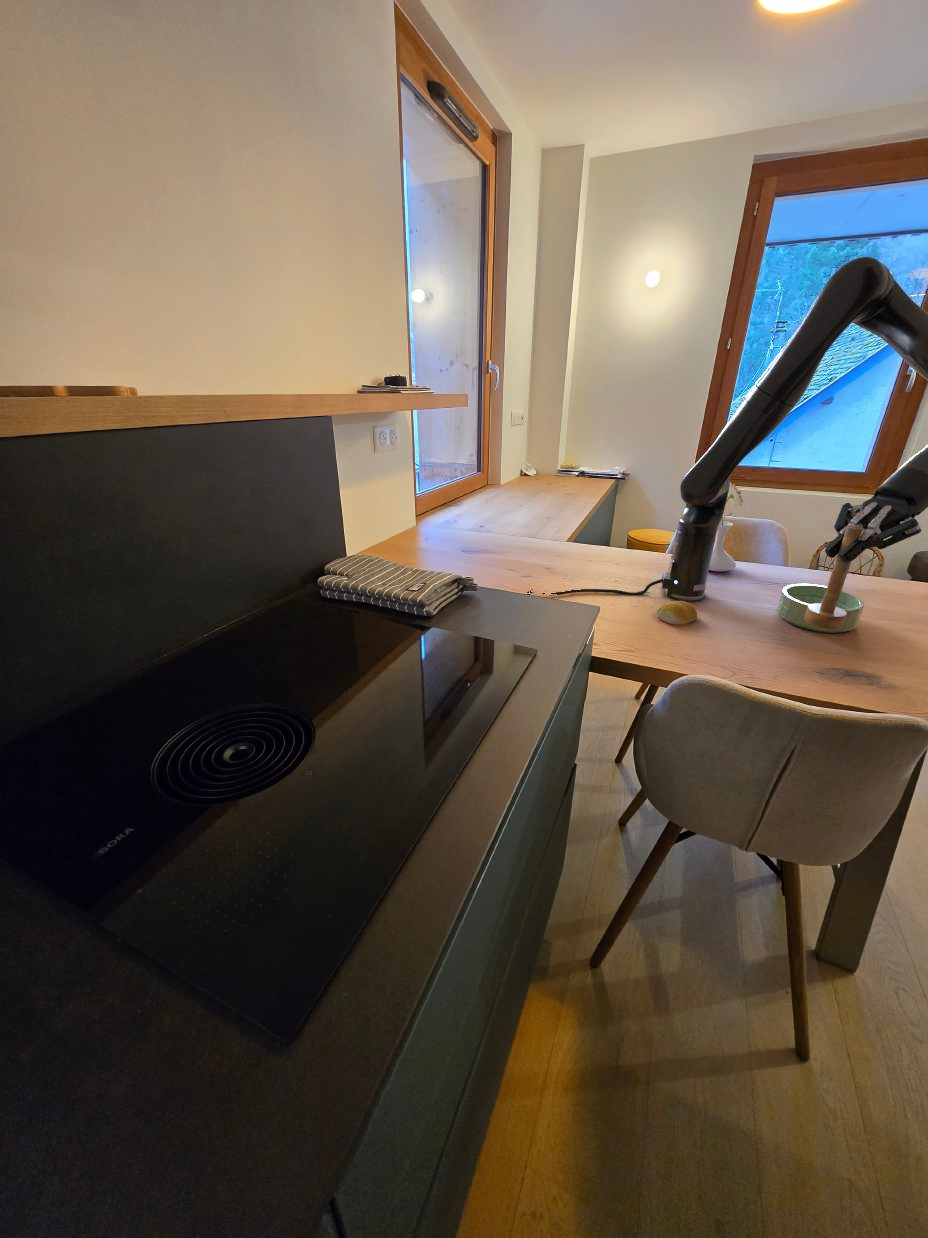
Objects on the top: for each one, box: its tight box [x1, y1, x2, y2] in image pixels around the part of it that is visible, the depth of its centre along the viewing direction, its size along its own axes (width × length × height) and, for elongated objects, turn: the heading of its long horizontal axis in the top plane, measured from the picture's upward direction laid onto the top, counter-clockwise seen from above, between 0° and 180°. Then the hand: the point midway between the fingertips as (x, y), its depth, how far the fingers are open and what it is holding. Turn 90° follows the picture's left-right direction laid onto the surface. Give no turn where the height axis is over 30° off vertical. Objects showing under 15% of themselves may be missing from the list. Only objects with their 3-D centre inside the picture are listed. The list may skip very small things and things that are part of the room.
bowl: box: [776, 583, 865, 634], centre depth 115 cm, size 16×16×6 cm
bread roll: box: [655, 600, 698, 625], centre depth 117 cm, size 8×9×4 cm
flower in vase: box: [709, 481, 744, 572], centre depth 144 cm, size 13×11×25 cm
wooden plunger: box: [804, 526, 863, 629], centre depth 88 cm, size 6×6×18 cm
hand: (835, 556), depth 86 cm, fingers closed on wooden plunger
